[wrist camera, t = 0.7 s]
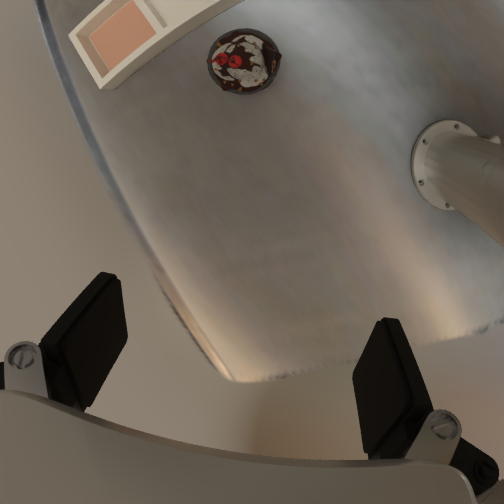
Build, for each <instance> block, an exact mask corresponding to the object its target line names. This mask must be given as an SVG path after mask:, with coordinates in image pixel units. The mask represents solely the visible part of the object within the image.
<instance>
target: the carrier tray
mask: <svg viewBox="0 0 504 504" xmlns="http://www.w3.org/2000/svg"><path fill="white" fill-rule="evenodd" d="M242 1H244V0H105V1H104V2H103V3H101V4H100V5H99V6H98V7H97V8H96V9H95V10H94V11H92V12H91V13H90V14H89V15H88V16H87V17H86V18H85V19H84V20H83V21H82V22H81V23H80V24H79V25H78V26H77V27H76V28H75V29H74V30H73V31H72V32H71V33H70V34H69V35H68V36H69V38H70V39H71V41H72V43H73V44H74V46H75V48H76V50H77V51H78V53H79V55H80V56H81V58H82V60H83V62H84V63H85V65H86V67H87V68H88V70H89V72H90V73H91V75H92V77H93V78H94V80H95V82H96V83H97V85H98V86H99V88H100V89H116V88H118V87H119V86H120V85H121V84H122V83H123V82H124V81H126V80H127V79H128V78H129V77H130V76H132V75H133V74H134V73H135V72H136V71H138V70H139V69H140V68H141V67H143V66H144V65H145V64H147V63H148V62H149V61H150V60H152V59H153V58H154V57H156V56H157V55H158V54H160V53H161V52H162V51H164V50H165V49H166V48H168V47H169V46H171V45H172V44H173V43H175V42H176V41H178V40H179V39H181V38H182V37H184V36H185V35H187V34H188V33H190V32H191V31H193V30H194V29H196V28H197V27H199V26H200V25H202V24H204V23H205V22H207V21H209V20H210V19H212V18H214V17H215V16H217V15H219V14H220V13H222V12H224V11H226V10H227V9H229V8H231V7H233V6H234V5H236V4H238V3H240V2H242Z"/></svg>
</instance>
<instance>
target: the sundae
mask: <svg viewBox="0 0 504 504" xmlns="http://www.w3.org/2000/svg"><path fill="white" fill-rule="evenodd" d="M281 57H282V55H281V54H280V53H279V50H278V48H277V46H276V45H275V43H274V42H273V41H272V39H271V38H269V37H268V36H267V35H265V34H264V33H262V32H260V31H258V30H254V29H248V28H245V29H236V30H233V31H229V32H227V33H225V34H224V35H222V36H220V37H219V38H218V39H217V40H216V41H215V42H214V44H213V45H212V47H211V48H210V51H209V54H208V59H207V63H208V70H209V73H210V75H211V77H212V79H213V80H214V81H215V83H216V84H217V85H219V86H220V87H221V88H222V89H223V90H224V91H229V92H232V93H236V94H252V93H255V92H258V91H259V90H262V89H265V88H266V87H268V86H269V85H270V84H271V82H272V81H273V79H274V77H275V76H276V74H277V72H278V69H279V66H280V59H281Z"/></svg>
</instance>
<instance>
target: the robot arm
mask: <svg viewBox="0 0 504 504" xmlns="http://www.w3.org/2000/svg"><path fill="white" fill-rule="evenodd" d="M454 125H455V128H454ZM423 139H424V142H423ZM500 143H501V142H500V139H499V137H498V136H497V135H495V136H493V137H491V138H489V139H488V140H487V139H485V138H482V137H478V135H477V134H476V133H475V132H474V131H473V130H472V128H470V127H469V126H467V125H466V124H464V123H461V122H459V121H454V120H442V121H437V122H435V123H433V124H431V125H430V126H428V127H427V128H426V129H425V130H424V131H423V132H422V133H421V134H420V136H419V138H418V139H417V141H416V143H415V146H414V149H413V152H412V158H411V171H412V177H413V180H414V183H415V186H416V188H417V190H418V192H419V193H420V194H421V196H422V197H423V198H424V199H425V200H426V201H427V202H428V203H430V204H431V205H433V206H434V207H436V208H439V209H441V210H447V211H449V210H458V211H459V212H460V213H462V214H463V215H464V216H466V217H467V218H468V219H469V220H471V221H472V222H473V223H474V224H476V225H477V226H478V227H479V228H481V229H482V230H483V231H484V232H486V233H487V234H488V235H489V236H490V237H492V238H493V239H494V240H495V241H496V242H498V243H499V244H500V245H501V246H503V247H504V145H501V144H500ZM420 180H421V181H420ZM419 181H420V183H419ZM127 338H128V334H127V326H126V319H125V312H124V305H123V297H122V288H121V281H120V280H119V279H117V276H116V275H115V274H110V273H106V272H100V273H99V274H98V275H97V276H96V277H95V278H94V279H93V281H92V282H91V283H90V284H89V285H88V286H87V287H86V288H85V289H84V290H83V291H82V293H81V294H80V295H79V296H78V297H77V298H76V299H75V300H74V301H73V303H72V304H71V305H70V306H69V307H68V308H67V310H66V311H65V312H64V313H63V314H62V315H61V316H60V318H59V319H58V320H57V321H56V322H55V324H54V325H53V326H52V327H51V328H50V330H49V331H48V332H47V333H46V334H45V336H44V337H43V338H42V339H41V342H40V343H39V345H38V346H37V345H36V344H35V343H33V342H29V341H23V342H19V343H16V344H14V345H13V346H11V347H10V348H9V349H8V350H7V352H6V354H5V357H4V362H0V504H504V480H503V479H501V480H500V481H499V479H498V477H499V468H498V465H497V463H496V462H495V460H494V459H493V458H491V457H490V456H489V455H487V454H486V453H484V452H482V451H481V450H479V449H478V448H476V447H475V446H473V445H472V444H470V443H469V442H467V441H466V440H464V439H463V438H461V433H462V428H461V424H460V421H459V420H458V419H457V417H456V416H455V415H454V414H452V413H451V412H449V411H447V410H442V409H438V410H434V409H433V406H432V403H431V400H430V397H429V394H428V391H427V389H426V386H425V383H424V380H423V378H422V375H421V372H420V370H419V367H418V365H417V362H416V360H415V357H414V355H413V352H412V350H411V347H410V345H409V342H408V340H407V337H406V335H405V333H404V330H403V328H402V326H401V323H400V321H399V320H398V319H395V318H385V317H384V318H382V319H381V321H377V322H376V324H375V326H374V329H373V331H372V333H371V335H370V338H369V340H368V342H367V344H366V346H365V348H364V351H363V353H362V355H361V357H360V359H359V361H358V363H357V365H356V367H355V369H354V372H353V377H352V380H353V385H354V392H355V397H356V403H357V410H358V416H359V422H360V429H361V436H362V443H363V450H364V453H368V460H314V459H295V458H282V457H272V456H262V455H253V454H246V453H239V452H232V451H226V450H220V449H214V448H209V447H204V446H199V445H194V444H189V443H185V442H181V441H176V440H172V439H168V438H164V437H160V436H156V435H153V434H149V433H145V432H142V431H139V430H135V429H132V428H128V427H125V426H122V425H119V424H116V423H113V422H110V421H107V420H104V419H101V418H98V417H96V416H93V415H90V414H87V413H85V412H84V411H85V409H86V407H90V406H91V405H92V404H93V402H94V400H95V398H96V396H97V394H98V392H99V391H100V389H101V387H102V385H103V383H104V381H105V380H106V378H107V376H108V374H109V372H110V370H111V369H112V367H113V365H114V363H115V362H116V360H117V358H118V356H119V354H120V353H121V351H122V349H123V347H124V346H125V344H126V342H127Z"/></svg>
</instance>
